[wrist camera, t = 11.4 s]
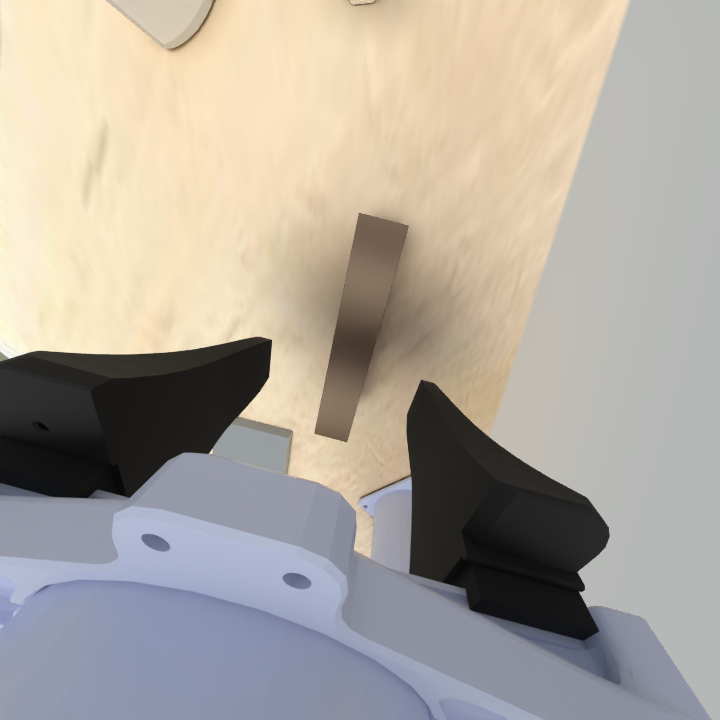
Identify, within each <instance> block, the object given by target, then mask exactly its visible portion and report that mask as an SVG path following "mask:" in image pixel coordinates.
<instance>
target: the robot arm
mask: <svg viewBox="0 0 720 720" xmlns="http://www.w3.org/2000/svg"><path fill="white" fill-rule="evenodd" d="M271 348H272V340H270V339H266V338H262V337H253V338H247V339H243V340H238V341H234V342H229V343H225V344H220V345H215V346H210V347H205V348H199V349H193V350H186V351H178V352H168V353H152V354H128V355H111V354H80V353H64V352H49V351H35V352H30V353H27V354H24V355H20V356H17V357H14V358H11V359H7V360H4V361H1V362H0V720H711V718H710V717H709V715H708V714H707V712H706V711H705V709H704V708H703V706H702V705H701V703H700V702H699V700H698V699H697V697H696V696H695V694H694V693H693V691H692V690H691V688H690V687H689V685H688V684H687V682H686V681H685V679H684V678H683V676H682V675H681V673H680V672H679V670H678V669H677V667H676V666H675V664H674V662H673V661H672V659H671V658H670V657H669V655H668V654H667V652H666V650H665V649H664V647H663V646H662V644H661V643H660V641H659V640H658V639H657V637H656V635H655V634H654V632H653V631H652V630H651V628H650V626H649V625H648V623H647V622H646V620H645V619H643V618H641V617H639V616H636V615H632V614H628V613H625V612H621V611H617V610H613V609H610V608H607V607H602V606H591V607H586V604H585V603H584V601H583V599H582V597H581V595H580V593H579V591H580V592H582V591H584V590H585V585H584V583H583V582H582V580H581V578H580V576H579V575H578V573H577V572H578V571H579V570H580V569H581V568H583V567H584V566H585V565H586V564H588V563H589V562H590V561H591V560H592V559H594V558H595V557H596V556H597V555H599V554H600V552H601V551H602V550H603V549H604V548H605V547H606V544H607V542H608V539H609V537H610V536H609V527H608V526H607V524H606V523H605V521H604V520H603V519H602V517H601V516H600V514H599V513H598V512H597V510H596V509H595V508H594V506H593V505H592V504H591V502H590V501H589V500H588V499H587V498H586V497H585V496H583V495H581V494H579V493H577V492H575V491H573V490H572V489H570V488H568V487H566V486H564V485H562V484H560V483H558V482H557V481H555V480H553V479H551V478H549V477H548V476H546V475H544V474H542V473H541V472H539V471H537V470H536V469H534V468H532V467H531V466H529V465H528V464H526V463H524V462H523V461H521V460H520V459H518V458H517V457H515V456H514V455H512V454H511V453H510V452H508V451H507V450H505V449H504V448H503V447H501V446H500V445H498V444H497V443H496V442H494V441H493V440H492V439H491V438H489V437H488V436H487V435H486V434H485V433H483V432H482V431H481V430H480V429H479V428H478V427H476V426H475V425H474V424H473V423H472V422H471V421H470V420H469V419H468V418H467V417H466V416H465V415H464V414H463V413H462V412H461V411H460V410H459V409H458V408H457V407H456V406H455V405H454V404H453V403H452V402H451V401H450V399H449V398H448V397H447V396H446V395H445V394H444V393H443V392H442V391H441V390H440V389H439V388H438V387H437V386H436V385H435V384H434V383H431V382H427V381H423V380H421V381H420V384H419V386H418V389H417V391H416V394H415V396H414V399H413V401H412V404H411V406H410V409H409V411H408V414H407V442H408V451H409V460H410V469H411V476H410V477H408V478H406V479H404V480H401V481H399V482H397V483H395V484H393V485H390V486H388V487H386V488H384V489H381V490H379V491H377V492H375V493H372V494H370V495H368V496H366V497H363V498H361V499H359V505H360V506H361V507H362V508H363V509H364V510H365V511H366V512H367V513H369V514H370V515H371V516H372V517H373V518H374V522H373V537H372V552H371V559H370V558H368V557H366V556H364V555H362V554H360V553H358V552H357V551H355V550H354V544H355V536H356V528H357V527H356V511H355V510H354V509H353V508H352V507H351V506H350V504H349V503H348V502H347V501H346V500H345V499H344V497H343V496H342V495H341V494H340V493H339V492H337V491H334V490H332V489H330V488H328V487H326V486H324V485H322V484H320V483H317V482H313V481H309V480H305V479H302V478H298V477H294V476H291V475H287V474H283V473H279V472H276V471H272V470H268V469H265V468H261V467H257V466H253V465H250V464H246V463H242V462H239V461H235V460H231V459H227V458H224V457H220V456H216V455H213V454H209V453H210V451H211V450H212V448H213V447H214V446H215V444H216V443H217V441H218V440H219V439H220V437H221V436H222V434H223V433H224V432H225V431H226V429H227V428H228V427H229V426H230V425H231V424H232V422H233V421H234V420H235V419H236V418H237V417H238V416H239V415H240V413H241V412H242V411H243V410H244V409H245V408H246V407H247V406H248V405H249V403H250V402H251V401H252V400H253V399H254V398H255V397H256V395H257V394H258V393H259V392H260V390H261V389H262V387H263V386H264V384H265V383H266V381H267V379H268V378H269V371H270V359H271Z"/></svg>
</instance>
